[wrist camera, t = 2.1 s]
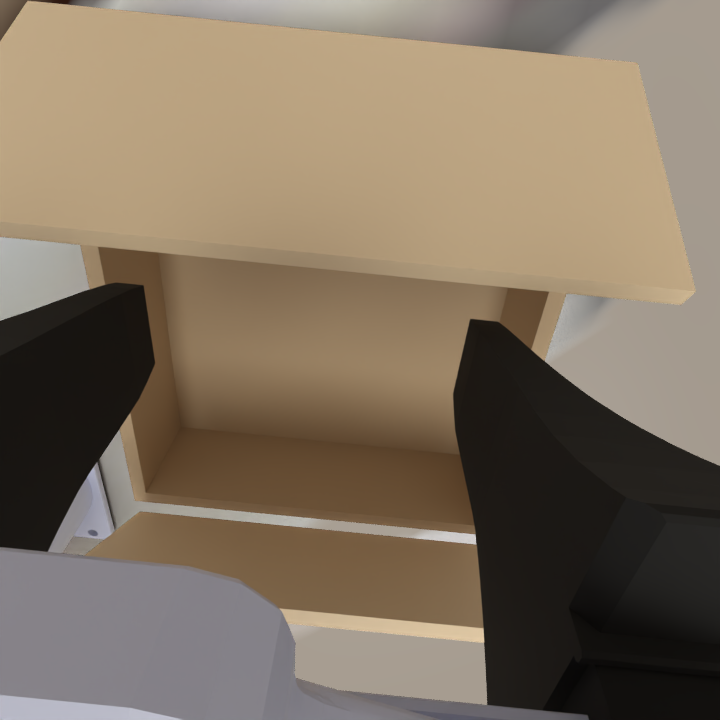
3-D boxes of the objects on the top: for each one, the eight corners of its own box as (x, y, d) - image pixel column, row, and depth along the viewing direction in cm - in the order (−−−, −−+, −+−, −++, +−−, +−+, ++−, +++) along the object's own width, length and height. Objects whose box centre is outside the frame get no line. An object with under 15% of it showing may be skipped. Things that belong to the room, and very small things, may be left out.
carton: (174, 427, 24) (134, 500, 21) (118, 21, 16) (32, 18, 12) (472, 456, 24) (486, 535, 21) (577, 67, 16) (636, 80, 12)
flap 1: (-96, 227, 9) (-114, 210, 8) (37, 20, 12) (27, 0, 11) (681, 304, 9) (695, 291, 8) (628, 79, 12) (637, 62, 11)
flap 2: (139, 511, 20) (138, 521, 20) (46, 585, 14) (45, 599, 14) (478, 544, 20) (477, 554, 20) (528, 632, 14) (526, 647, 14)
